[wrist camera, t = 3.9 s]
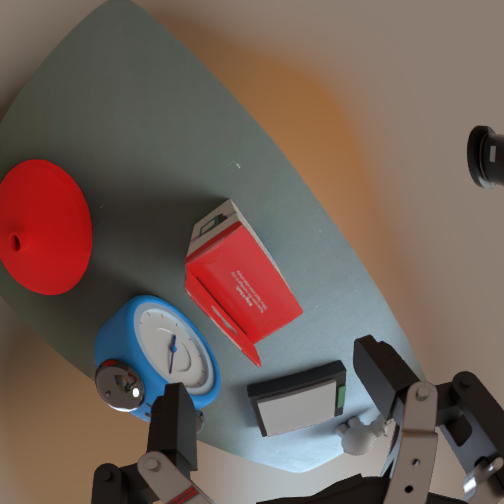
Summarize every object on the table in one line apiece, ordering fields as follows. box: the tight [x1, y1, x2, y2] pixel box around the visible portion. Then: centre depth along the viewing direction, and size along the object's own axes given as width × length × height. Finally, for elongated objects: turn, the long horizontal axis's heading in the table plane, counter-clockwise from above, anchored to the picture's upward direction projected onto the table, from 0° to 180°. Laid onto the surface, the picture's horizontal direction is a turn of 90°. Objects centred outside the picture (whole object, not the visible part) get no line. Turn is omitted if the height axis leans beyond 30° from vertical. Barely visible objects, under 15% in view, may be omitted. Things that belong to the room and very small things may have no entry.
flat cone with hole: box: [0, 159, 93, 295], centre depth 22 cm, size 16×16×7 cm
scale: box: [247, 360, 346, 437], centre depth 39 cm, size 15×13×3 cm
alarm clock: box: [94, 295, 220, 435], centre depth 25 cm, size 13×6×15 cm, turn 39°
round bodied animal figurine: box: [335, 414, 394, 456], centre depth 43 cm, size 7×12×8 cm, turn 121°
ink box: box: [184, 199, 303, 367], centre depth 23 cm, size 8×5×15 cm, turn 34°
